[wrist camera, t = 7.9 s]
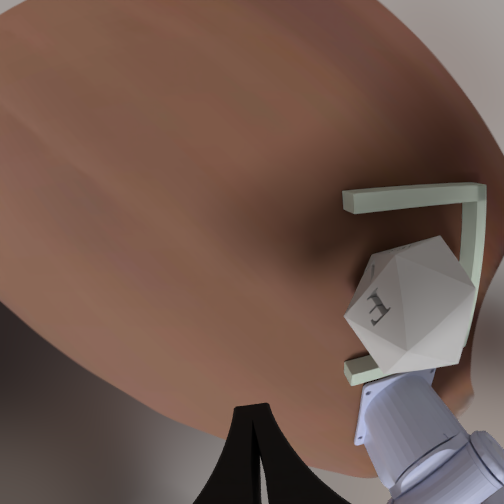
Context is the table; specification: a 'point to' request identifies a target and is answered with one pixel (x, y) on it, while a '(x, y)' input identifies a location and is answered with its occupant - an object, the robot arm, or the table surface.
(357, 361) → the bay
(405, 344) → the die
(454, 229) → the table surface
